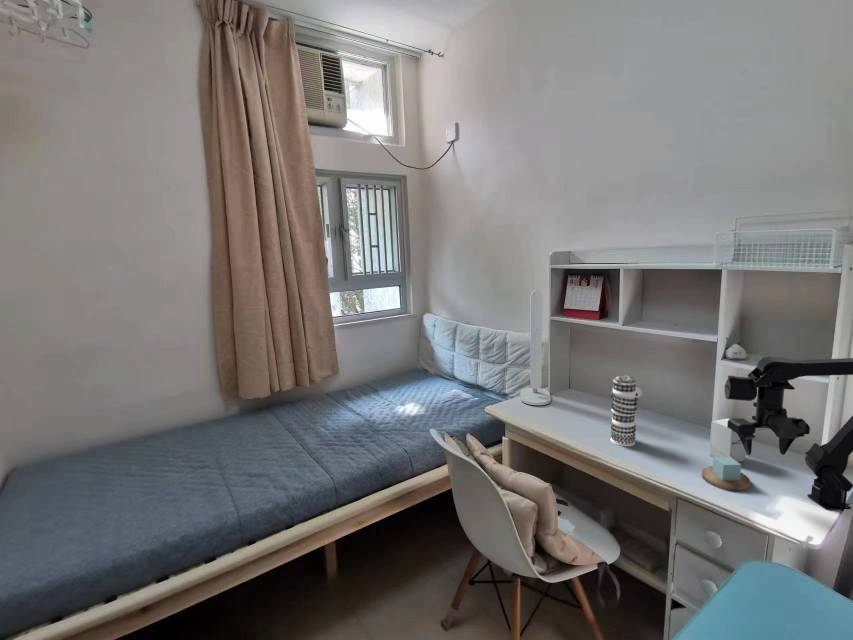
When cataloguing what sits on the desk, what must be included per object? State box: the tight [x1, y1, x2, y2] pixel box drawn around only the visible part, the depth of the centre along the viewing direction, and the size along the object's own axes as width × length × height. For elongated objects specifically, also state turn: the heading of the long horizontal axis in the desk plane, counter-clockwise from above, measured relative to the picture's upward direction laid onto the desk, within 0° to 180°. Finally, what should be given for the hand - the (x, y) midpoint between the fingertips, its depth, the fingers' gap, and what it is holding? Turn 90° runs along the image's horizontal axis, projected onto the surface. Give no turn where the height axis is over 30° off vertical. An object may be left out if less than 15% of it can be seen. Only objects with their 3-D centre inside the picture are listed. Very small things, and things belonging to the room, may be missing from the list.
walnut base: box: [701, 465, 751, 492], centre depth 130 cm, size 12×12×2 cm
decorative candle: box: [610, 375, 639, 447], centre depth 157 cm, size 9×9×25 cm
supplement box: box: [709, 417, 747, 463], centre depth 142 cm, size 7×7×13 cm
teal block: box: [712, 457, 742, 480], centre depth 129 cm, size 5×5×5 cm
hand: (765, 454), depth 121 cm, fingers open, 9 cm apart
